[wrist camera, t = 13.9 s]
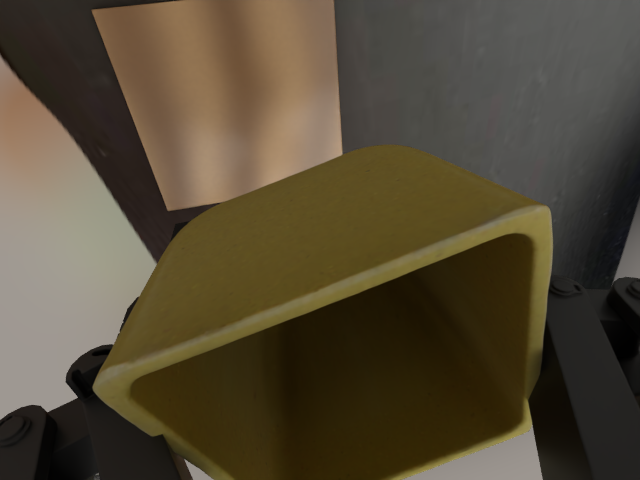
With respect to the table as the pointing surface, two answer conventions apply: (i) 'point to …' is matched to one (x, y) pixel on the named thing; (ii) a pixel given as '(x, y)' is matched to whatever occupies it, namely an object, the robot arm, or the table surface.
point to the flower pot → (341, 323)
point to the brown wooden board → (227, 91)
